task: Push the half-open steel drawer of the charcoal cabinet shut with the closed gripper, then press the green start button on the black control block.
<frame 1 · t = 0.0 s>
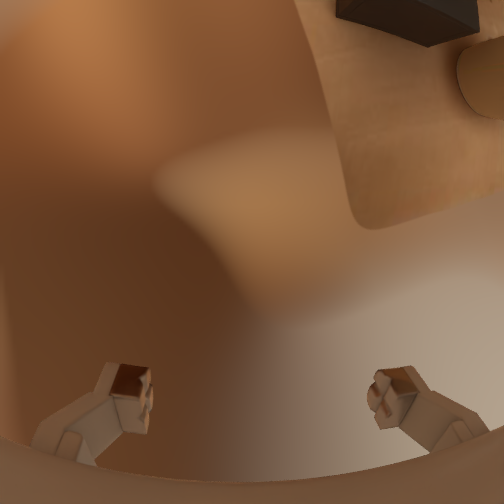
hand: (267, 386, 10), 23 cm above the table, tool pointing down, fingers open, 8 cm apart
coffee cup: (480, 81, 28), on the table
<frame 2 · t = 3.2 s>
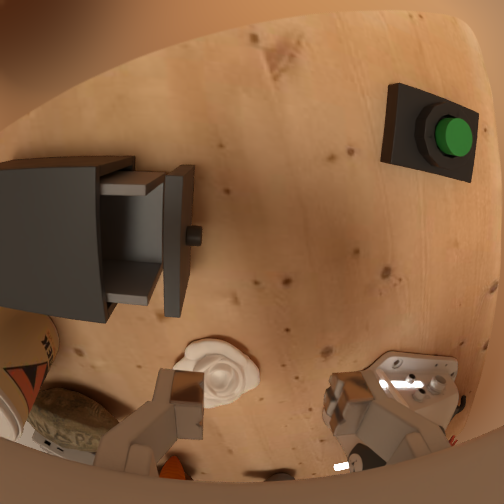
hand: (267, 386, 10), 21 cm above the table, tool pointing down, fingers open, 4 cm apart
cabinet: (68, 214, 28), on the table
drawer: (113, 231, 25), point 5 cm above the table, slide at 4.5 cm
light bulb: (241, 493, 41), point 5 cm above the table
control block: (428, 134, 28), on the table
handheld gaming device: (119, 482, 37), point 5 cm above the table, touching ink cartridge box
start button: (454, 136, 24), point 5 cm above the table, slide at 0.2 cm
rose: (215, 367, 36), on the table
carrot: (174, 454, 42), on the table
coffee cup: (29, 328, 33), on the table
stone: (73, 442, 33), point 5 cm above the table
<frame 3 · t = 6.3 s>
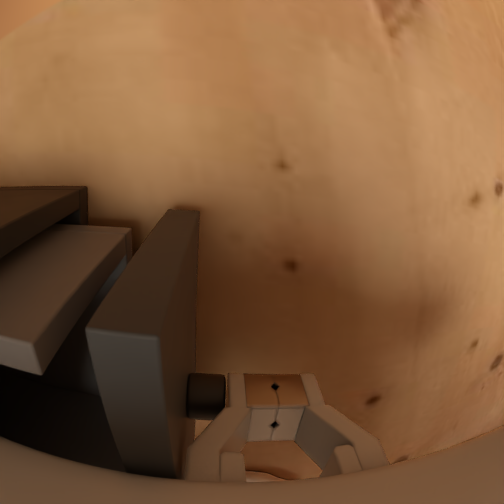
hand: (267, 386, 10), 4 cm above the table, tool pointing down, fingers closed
drawer: (29, 369, 9), point 5 cm above the table, slide at 3.7 cm, touching gripper
rose: (247, 492, 21), on the table
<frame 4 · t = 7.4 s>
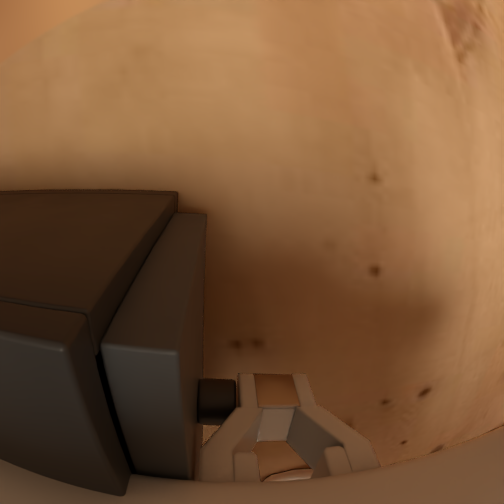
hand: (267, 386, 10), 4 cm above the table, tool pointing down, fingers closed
cabinet: (38, 306, 13), on the table
drawer: (34, 376, 9), point 5 cm above the table, slide at 0.0 cm, touching cabinet, gripper
rose: (297, 490, 21), on the table
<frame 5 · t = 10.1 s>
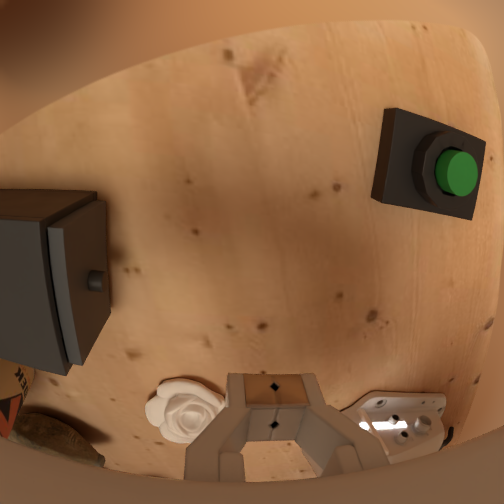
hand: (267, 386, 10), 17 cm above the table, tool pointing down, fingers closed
cabinet: (33, 249, 25), on the table
drawer: (27, 271, 21), point 5 cm above the table, slide at 0.0 cm
control block: (427, 165, 26), on the table
start button: (456, 172, 21), point 5 cm above the table, slide at 0.2 cm
rose: (189, 404, 33), on the table
coffee cup: (5, 355, 30), on the table
stone: (52, 464, 30), point 5 cm above the table
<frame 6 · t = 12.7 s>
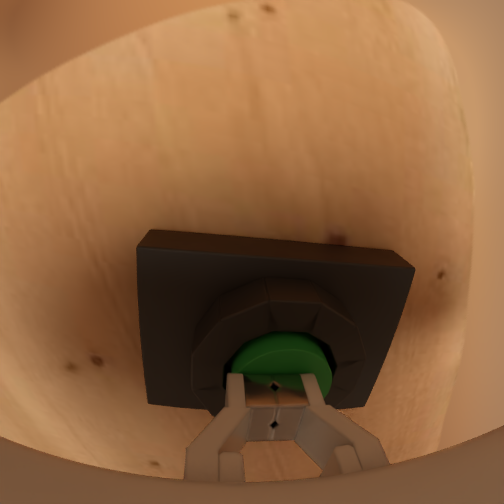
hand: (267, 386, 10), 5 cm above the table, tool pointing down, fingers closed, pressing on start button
control block: (268, 321, 15), on the table
start button: (279, 373, 11), point 4 cm above the table, slide at -0.7 cm, touching gripper
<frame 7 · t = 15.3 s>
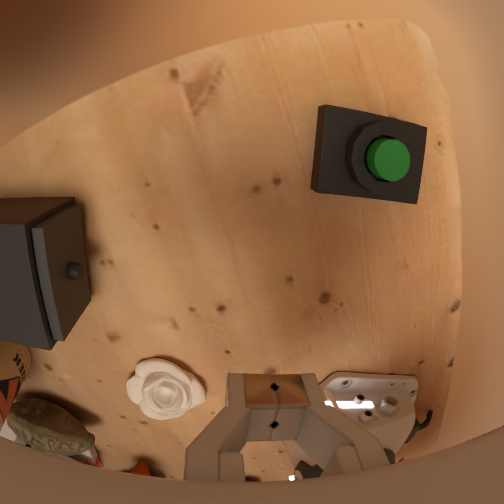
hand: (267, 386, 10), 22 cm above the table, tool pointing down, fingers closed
cabinet: (25, 248, 29), on the table
drawer: (20, 266, 25), point 5 cm above the table, slide at 0.0 cm
control block: (367, 154, 29), on the table
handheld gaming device: (93, 483, 39), point 5 cm above the table, touching ink cartridge box
ink cartridge box: (60, 435, 39), point 1 cm above the table, touching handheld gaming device
start button: (388, 159, 25), point 5 cm above the table, slide at 0.1 cm
rose: (166, 383, 37), on the table
carrot: (143, 459, 44), on the table
coffee cup: (6, 345, 34), on the table
stone: (49, 446, 35), point 5 cm above the table
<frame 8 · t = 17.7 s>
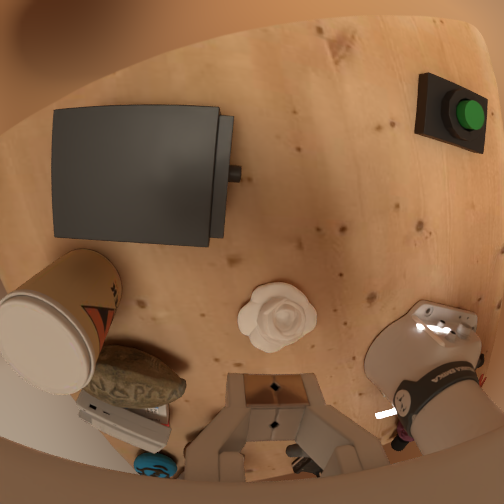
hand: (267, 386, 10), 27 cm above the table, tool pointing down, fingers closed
white ribbed cylinder: (199, 479, 49), point 4 cm above the table
cabinet: (150, 164, 33), on the table
drawer: (163, 169, 29), point 5 cm above the table, slide at 0.0 cm
light bulb: (285, 451, 45), point 5 cm above the table
figurine: (397, 446, 52), point 2 cm above the table
control block: (449, 114, 33), on the table
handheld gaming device: (163, 448, 42), point 5 cm above the table, touching ink cartridge box
ink cartridge box: (131, 392, 43), point 1 cm above the table, touching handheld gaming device
start button: (470, 114, 29), point 5 cm above the table, slide at 0.1 cm
rose: (276, 312, 41), on the table
ornament: (164, 458, 48), point 2 cm above the table
coffee cup: (89, 282, 38), on the table
battery charger: (300, 462, 51), point 2 cm above the table
stone: (124, 402, 38), point 5 cm above the table
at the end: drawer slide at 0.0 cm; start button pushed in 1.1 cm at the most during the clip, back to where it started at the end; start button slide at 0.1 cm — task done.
